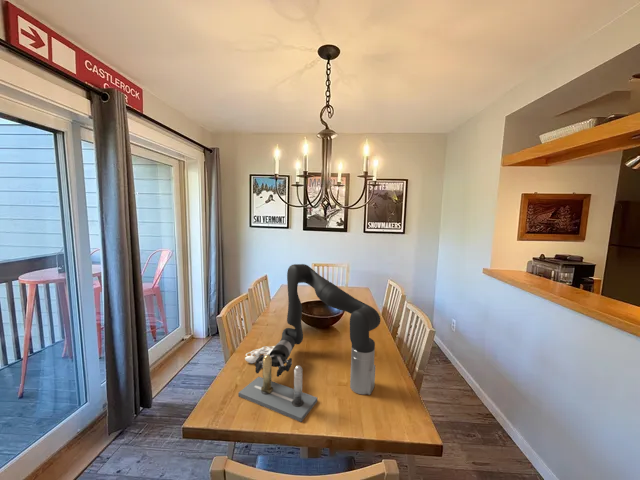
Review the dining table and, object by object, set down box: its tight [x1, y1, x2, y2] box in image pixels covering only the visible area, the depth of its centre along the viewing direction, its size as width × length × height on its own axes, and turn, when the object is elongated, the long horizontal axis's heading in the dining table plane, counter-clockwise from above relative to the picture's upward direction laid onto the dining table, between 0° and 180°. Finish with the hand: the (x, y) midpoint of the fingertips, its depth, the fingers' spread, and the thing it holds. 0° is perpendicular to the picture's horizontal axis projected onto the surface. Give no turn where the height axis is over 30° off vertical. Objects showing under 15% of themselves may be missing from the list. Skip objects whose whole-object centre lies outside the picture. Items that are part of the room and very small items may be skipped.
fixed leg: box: [293, 365, 303, 405], centre depth 103 cm, size 3×3×14 cm
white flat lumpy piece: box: [244, 345, 276, 365], centre depth 138 cm, size 19×14×4 cm
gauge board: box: [237, 376, 319, 423], centre depth 108 cm, size 28×12×2 cm, turn 63°
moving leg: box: [261, 355, 273, 393], centre depth 109 cm, size 4×3×14 cm
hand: (267, 372), depth 109 cm, fingers open, 8 cm apart
